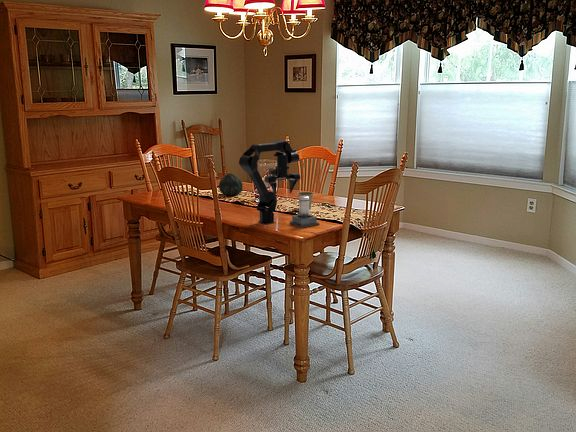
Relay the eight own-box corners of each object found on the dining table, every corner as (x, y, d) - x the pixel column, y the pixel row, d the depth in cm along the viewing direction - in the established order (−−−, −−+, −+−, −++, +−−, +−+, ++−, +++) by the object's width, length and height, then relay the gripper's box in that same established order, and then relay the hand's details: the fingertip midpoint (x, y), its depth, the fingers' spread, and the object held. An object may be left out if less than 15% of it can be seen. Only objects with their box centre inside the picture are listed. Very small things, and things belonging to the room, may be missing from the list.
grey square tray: (300, 227, 289) (300, 220, 288) (289, 223, 299) (289, 215, 298) (319, 224, 294) (319, 217, 294) (308, 220, 304) (308, 212, 303)
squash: (236, 182, 383) (223, 167, 374) (250, 186, 372) (237, 171, 363) (223, 199, 379) (210, 184, 370) (236, 203, 368) (223, 188, 359)
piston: (300, 223, 293) (300, 198, 290) (298, 221, 298) (297, 196, 295) (310, 222, 295) (310, 197, 292) (307, 220, 299) (307, 195, 297)
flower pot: (299, 210, 326) (299, 195, 324) (295, 207, 335) (294, 192, 333) (315, 209, 329) (315, 194, 327) (310, 205, 338) (310, 191, 335)
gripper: (290, 161, 314) (290, 189, 318) (259, 164, 305) (260, 193, 309) (300, 163, 305) (301, 193, 308) (269, 166, 296) (269, 197, 300)
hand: (282, 194), depth 307 cm, fingers open, 9 cm apart
